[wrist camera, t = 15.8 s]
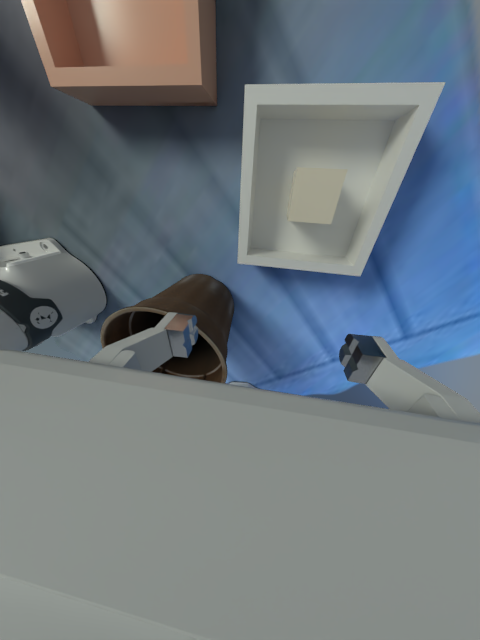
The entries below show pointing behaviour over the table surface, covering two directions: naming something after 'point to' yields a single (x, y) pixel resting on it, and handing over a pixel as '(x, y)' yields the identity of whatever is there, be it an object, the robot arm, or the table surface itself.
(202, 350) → the plant pot
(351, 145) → the light grey bin
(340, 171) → the sandstone block
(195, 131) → the table surface
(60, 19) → the terracotta bin
